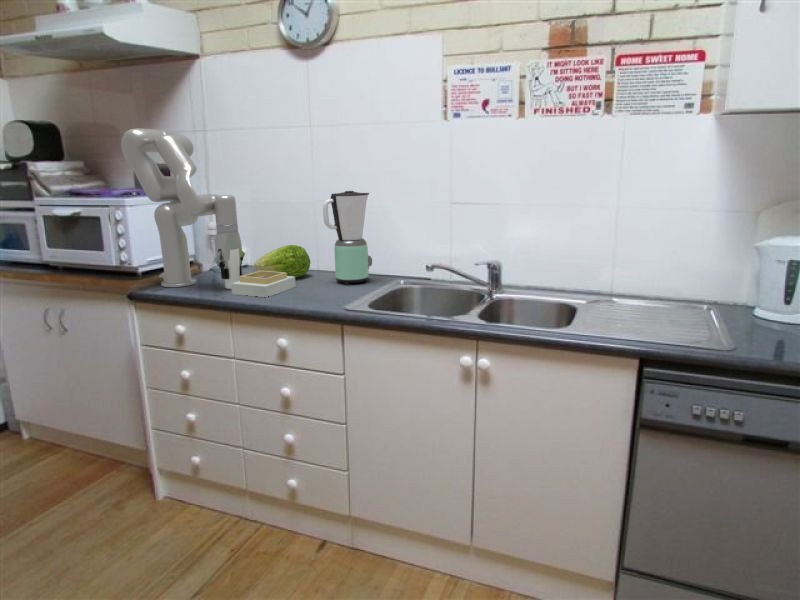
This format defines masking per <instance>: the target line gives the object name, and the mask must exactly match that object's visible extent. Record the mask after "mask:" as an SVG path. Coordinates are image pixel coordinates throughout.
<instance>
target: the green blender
mask: <svg viewBox="0 0 800 600" xmlns="http://www.w3.org/2000/svg"><path fill="white" fill-rule="evenodd" d="M369 195H370V192H357V191H354V190H346V191H345V190H344V191H343V192H339V193H337V192H336V193H331V195H330V198H328V199H325V200H324V201H323V204H322V216H323V221H324V224H325V225H324V226H326V227H327V228H328V229H330V230H336V234H337V238H338V239H336V240H335V243H334V270H335V271H334V273H335V274H334V275H335V280H336V282H339V283H344V285H345V286H350V284H352V283H353V284H354V283H365V284H367V283H368V279H369V277H370V276H369V275H370V274H369V272H370V271H369V269H370V267H371V266H373V258H372V256H371V255H369V250H368V243H367V240H366V239H365V238H363V233H364V226H365V225H364V224H365V216H366V208H367V202H368V201H367V200H368V197H369ZM329 204H331V209H332V214H333V221H334V224H333V225H332V224H331V223H330V220H329Z"/></svg>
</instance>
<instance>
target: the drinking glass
mask: <svg viewBox="0 0 800 600" xmlns="http://www.w3.org/2000/svg"><path fill="white" fill-rule="evenodd" d="M222 260H224V257H223V258H222ZM224 263H225V262H223V264H224ZM227 268H228V269H229V279H223V280H224V287H225V289H227V290H232V287H231V283H234V282H237V281H240V256H239V249H234V250H230V260H229V261H228V265H227Z"/></svg>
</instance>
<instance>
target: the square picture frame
mask: <svg viewBox="0 0 800 600" xmlns="http://www.w3.org/2000/svg"><path fill="white" fill-rule="evenodd" d="M296 285H297V284H296V278H295V277H294V276H287V273H285V272H273V271H253V272H249V273H246V274H244V275H243V274H242V275H241V276H240V281H237V282H234V283H231V287H232V289H231V294H232V295H237V296H245V295H248V296H247V297H255V296H258V298H264V297H267V298H269V297H272V296H274V295H277V294H279V293H283V292H285V291H288V290H291V289H294V288H296V287H297V286H296ZM268 296H269V297H268Z"/></svg>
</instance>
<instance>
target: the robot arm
mask: <svg viewBox="0 0 800 600" xmlns="http://www.w3.org/2000/svg"><path fill="white" fill-rule="evenodd" d="M120 142H121V143H120V147H121V151H122V154H123V156H124V158H125V160H126V162H127V163H128V164H129V166H130V167H131V169H132V170H133V172H134V174H135V176H136V178H137V180H138V182H139V184H140V186H141V188H142V190H143V191H144V193H145V195H146V197H147V198H148V199H149V200H150V201H151V202H155V203H161V204H160V205H158V206H157V207H156V208H155V209H154V213H153V214H154V215H153V217H154V221H155V222H154V223H156V224H155V225H156V227H157V231H158V234H159V242H160V243H159V244H160V248H161V249H160V250H161V257H162V264H163V272H161V273H160V274H159V275H158V278H160V279H163V281H161V283H160V284H161V287H164V288H180V287H187V286H192V285H195V284H196V282H197V281H196V278H193V277H192V273H191V266H190V263H191V262H190V254H189V247H188V246H189V245H188V239H187V235H186V233H185V231H184V229H183V227H186V226H187V227H188V226H191V225H193V224H195V223H197V221H198V219H199V217H206V216H213V215H214V216H215V224H216V234H215V237H214V238H215V239H214V251H215V252H214V255H215V257H214V259H213V261H214V263H216V265H217V266H218V268H219V269H220V276H221V277H220V279H223V280H224V279H229V269H228V268H227V265H228V261H229V260H230V250H234V249H239V256H240V276H243V274H242V273H243V272H242V265H243V260H244V257H245V255H246V253H245V252H244V251H243V248H242V247H243V246H242V240H241V236H240V232H239V225H238V215H237V205H236V198H235V196H234V195H231V194H222V195H221V194H219V195H218V194H213V193H209V194H198V193H197V191H195V189H194V188H193V186H192V182H191V178H192V177H193V176H194V175H195V174H196V172H197V166H196V164H195V163H194V161H193V160H192V158H191V156H192V155H193V154H194V150H195V149H194V144H193V141H192V140H191V139H190V138H189V137H188V136H186V135H183V134H178V133H175V132H171V131H168V130H167V131H166V130H163V129H162V130H161V129H153V128H139V127H138V128H131V129H128V130H126V131H125V132H124V133H123V135H122V137H121V141H120ZM147 153H158V154H159V156H160V157H161V158H162V160H163V162H164V163H165V164H166V166H167V168H168V169H169V171H170V173H172V175H173V176H172V175H171V176H165V175H163V173H162V171H161V170H160V168H159V166H158V164H157V163H156V162H155V160H154V159H153V158H151V156H150V155H148V154H147ZM163 202H164V203H163ZM223 257H224V260H222V258H223ZM223 262H225V263H224V264H223Z"/></svg>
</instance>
